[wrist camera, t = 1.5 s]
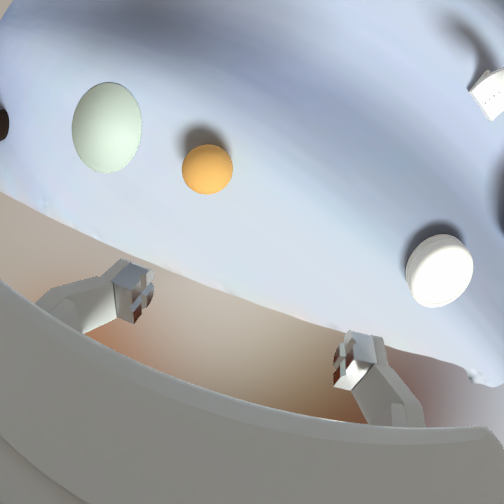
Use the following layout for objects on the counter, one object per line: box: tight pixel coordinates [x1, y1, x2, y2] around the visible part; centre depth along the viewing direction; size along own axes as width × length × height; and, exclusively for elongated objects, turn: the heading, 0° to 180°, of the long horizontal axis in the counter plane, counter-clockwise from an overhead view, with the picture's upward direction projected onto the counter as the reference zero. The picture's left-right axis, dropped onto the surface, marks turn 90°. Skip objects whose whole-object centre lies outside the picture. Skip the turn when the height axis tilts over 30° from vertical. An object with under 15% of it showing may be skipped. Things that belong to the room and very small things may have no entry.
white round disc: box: [405, 234, 473, 307], centre depth 31 cm, size 10×10×4 cm
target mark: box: [72, 83, 142, 173], centre depth 31 cm, size 13×13×1 cm
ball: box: [182, 144, 233, 194], centre depth 29 cm, size 6×6×6 cm
